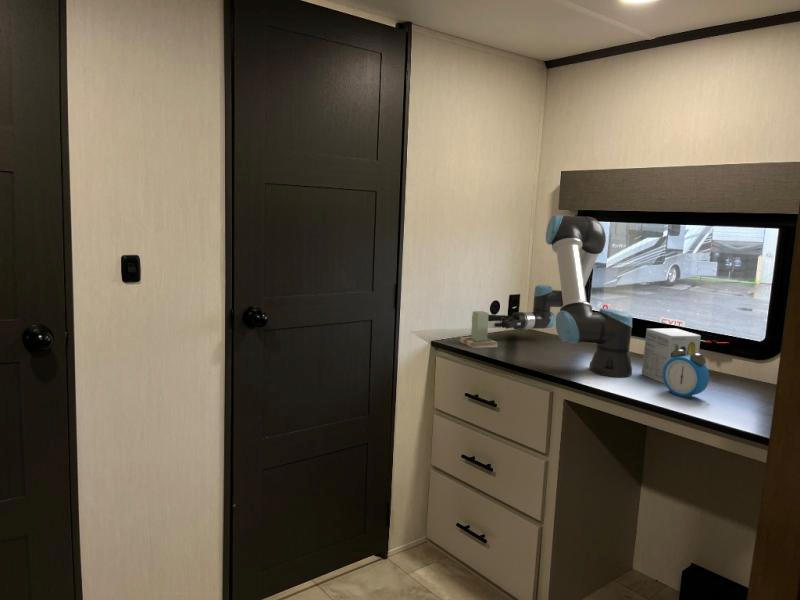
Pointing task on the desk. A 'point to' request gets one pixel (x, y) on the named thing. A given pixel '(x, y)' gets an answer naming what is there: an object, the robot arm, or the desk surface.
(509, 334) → the desk surface
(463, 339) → the letter tile
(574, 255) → the robot arm
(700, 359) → the alarm clock
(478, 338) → the sage pillar
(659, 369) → the supplement box
